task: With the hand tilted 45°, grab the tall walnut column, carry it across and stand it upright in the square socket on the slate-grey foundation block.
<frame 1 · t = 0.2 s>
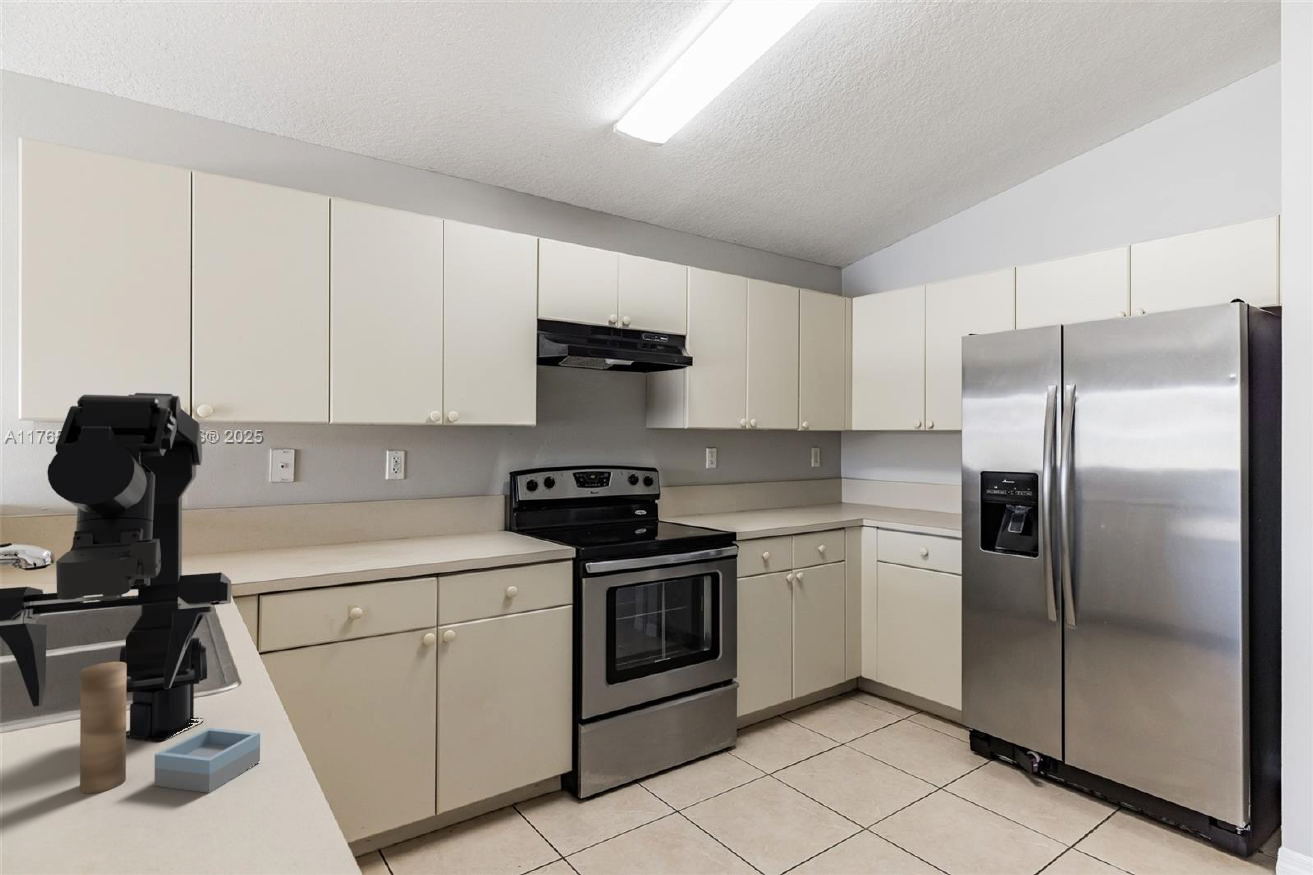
hand: (104, 697, 62), 16 cm above the worktop, tool pointing down, fingers open, 9 cm apart
foundation: (209, 773, 80), on the worktop
pillar: (103, 784, 77), on the worktop
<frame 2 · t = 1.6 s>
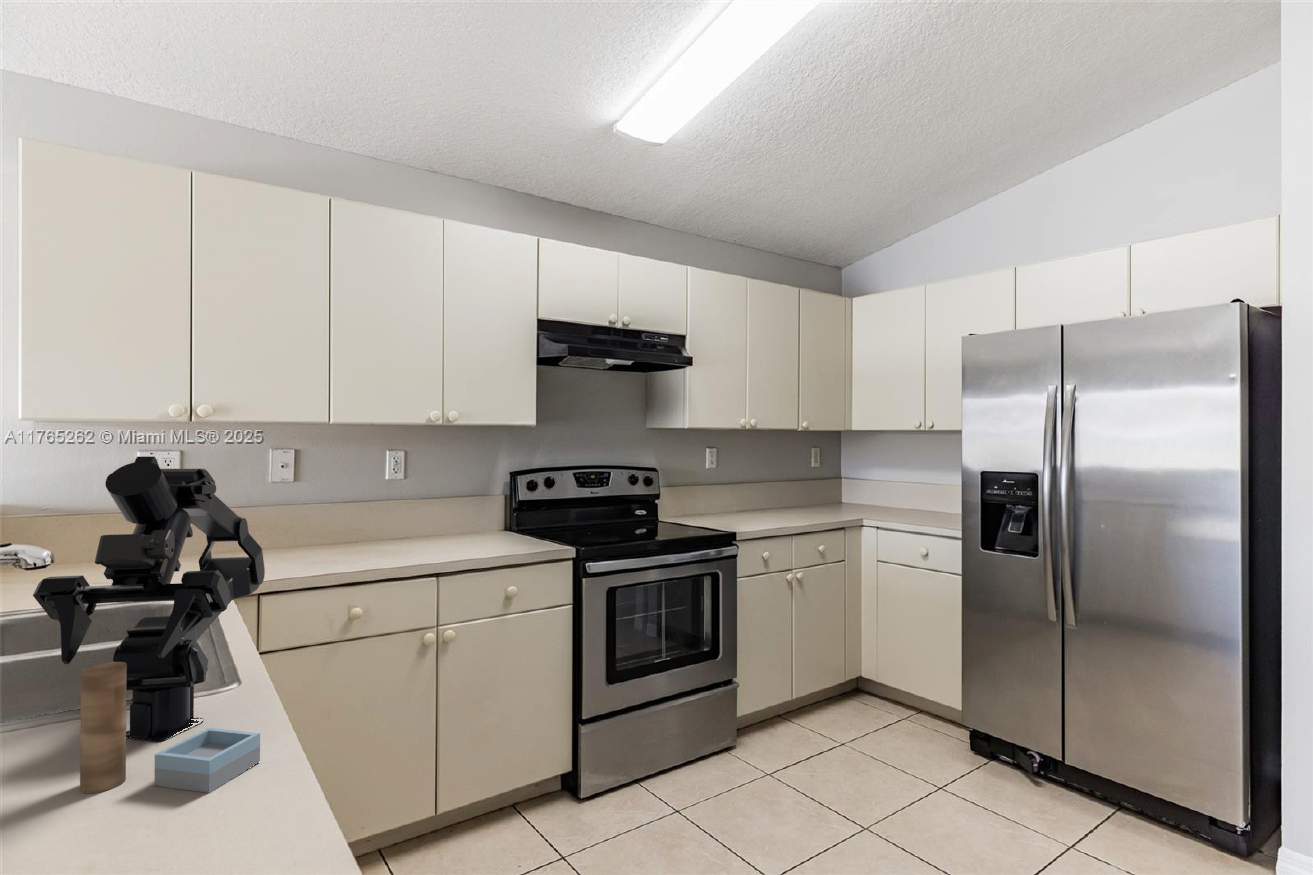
hand: (113, 659, 79), 13 cm above the worktop, tool tilted 45°, fingers open, 9 cm apart
nothing on the worktop moved.
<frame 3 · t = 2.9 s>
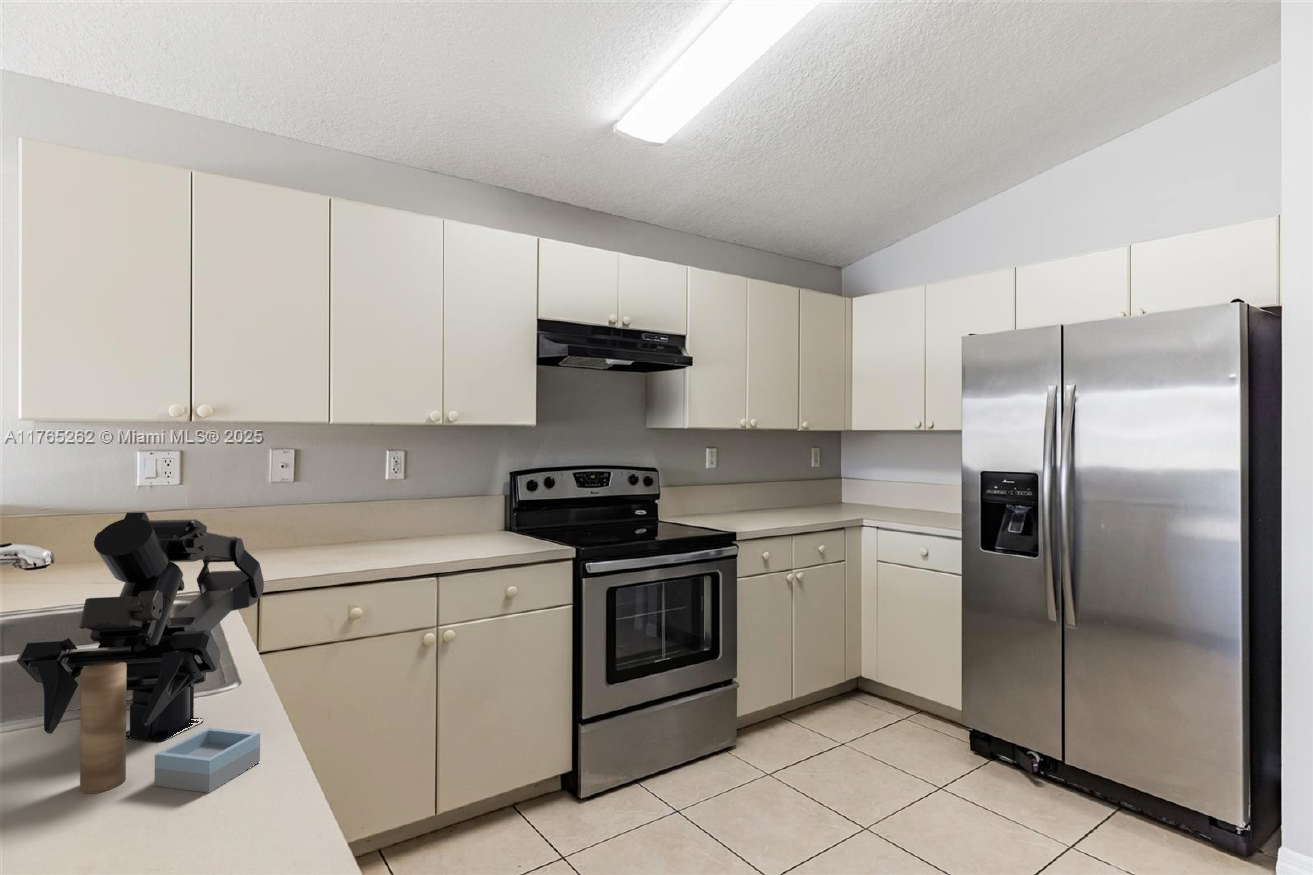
hand: (97, 728, 76), 7 cm above the worktop, tool tilted 45°, fingers open, 9 cm apart
nothing on the worktop moved.
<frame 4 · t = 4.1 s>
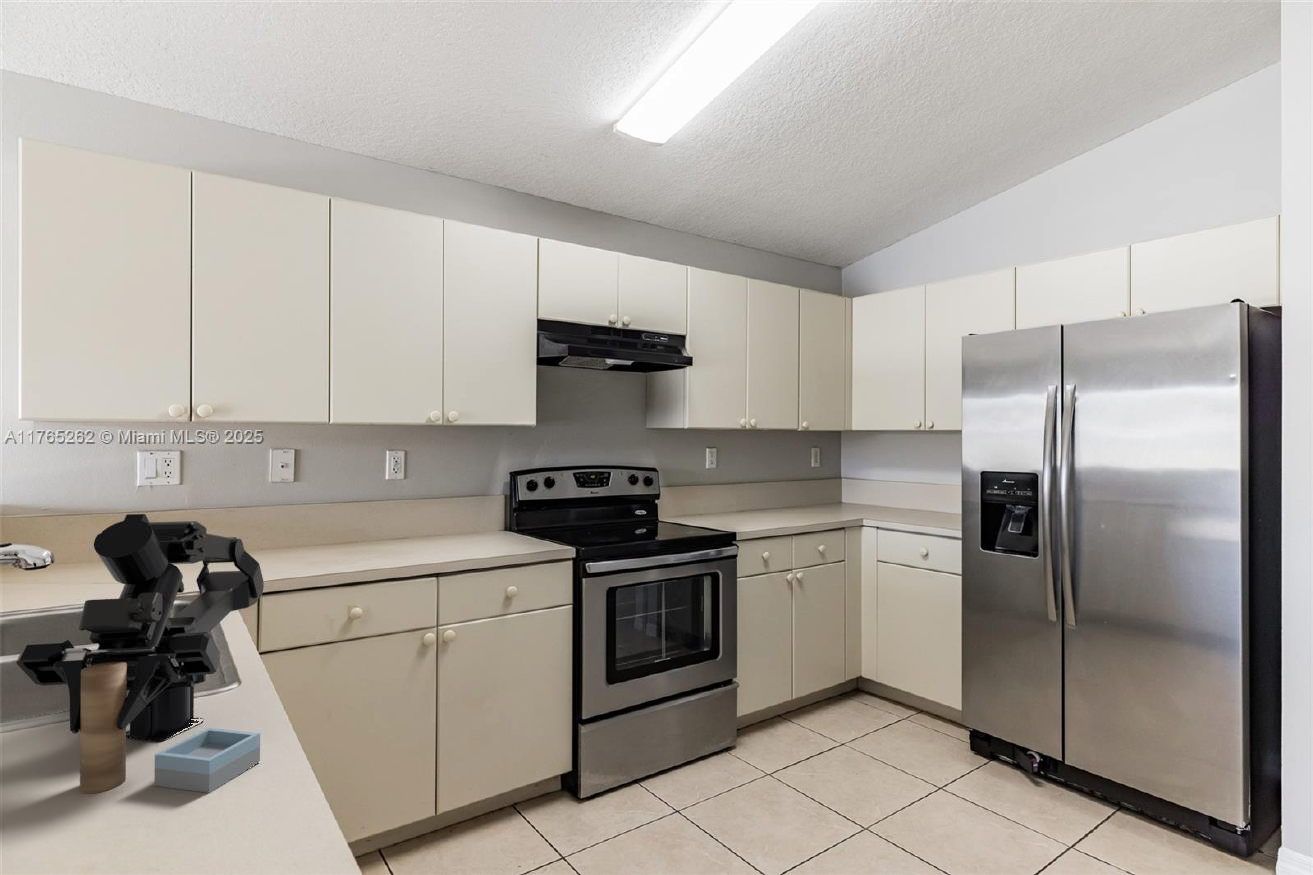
hand: (96, 730, 76), 7 cm above the worktop, tool tilted 45°, fingers closed on pillar, 4 cm apart
pillar: (103, 784, 77), on the worktop, touching gripper
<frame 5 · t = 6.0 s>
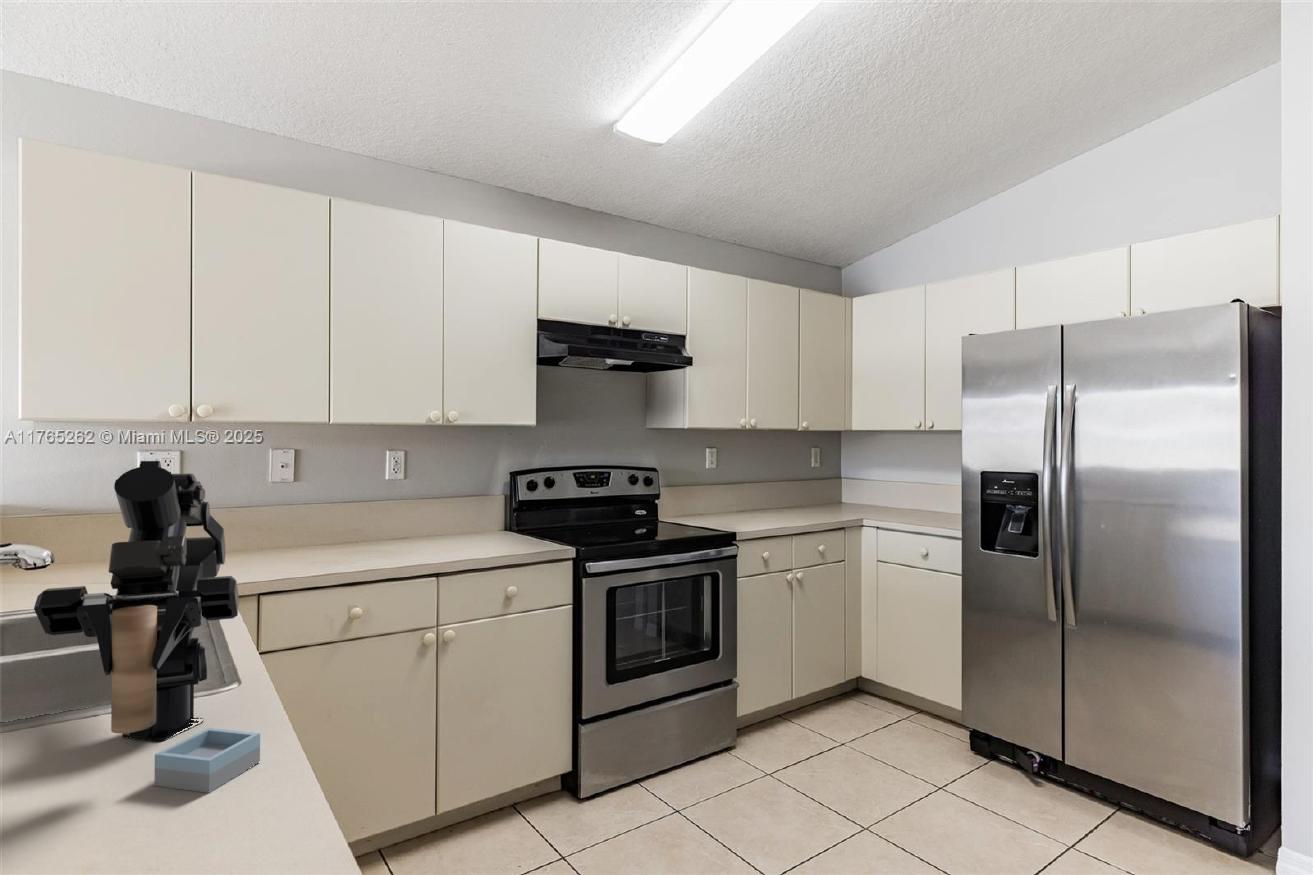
hand: (131, 670, 76), 13 cm above the worktop, tool tilted 45°, fingers closed on pillar, 4 cm apart
pillar: (134, 725, 77), point 7 cm above the worktop, touching gripper
when the fingers open (9 cm above the worktop, at t = 8.2 s): pillar stays where it is, resting on foundation.
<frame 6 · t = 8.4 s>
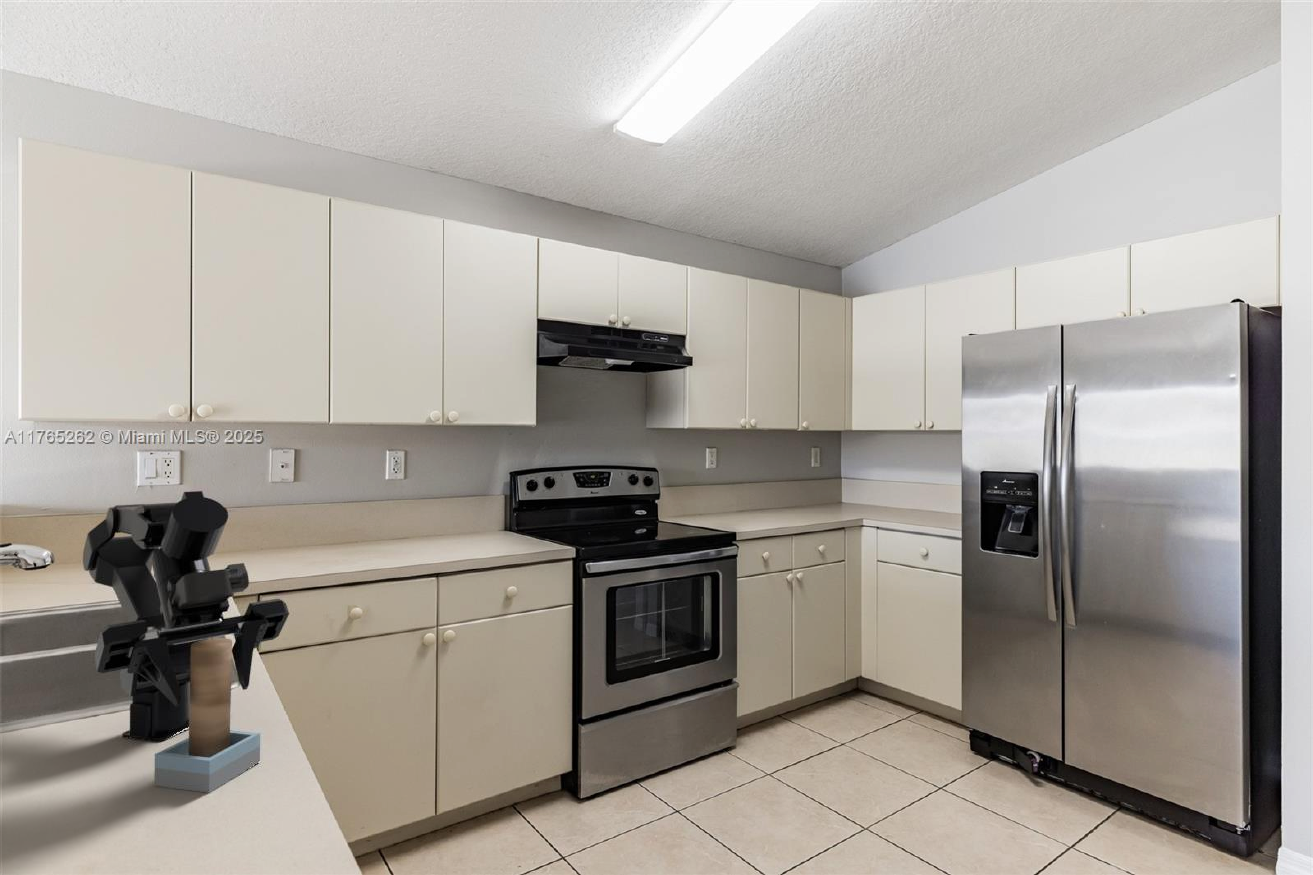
hand: (213, 695, 79), 9 cm above the worktop, tool tilted 45°, fingers open, 6 cm apart
pillar: (209, 755, 80), point 2 cm above the worktop, touching foundation
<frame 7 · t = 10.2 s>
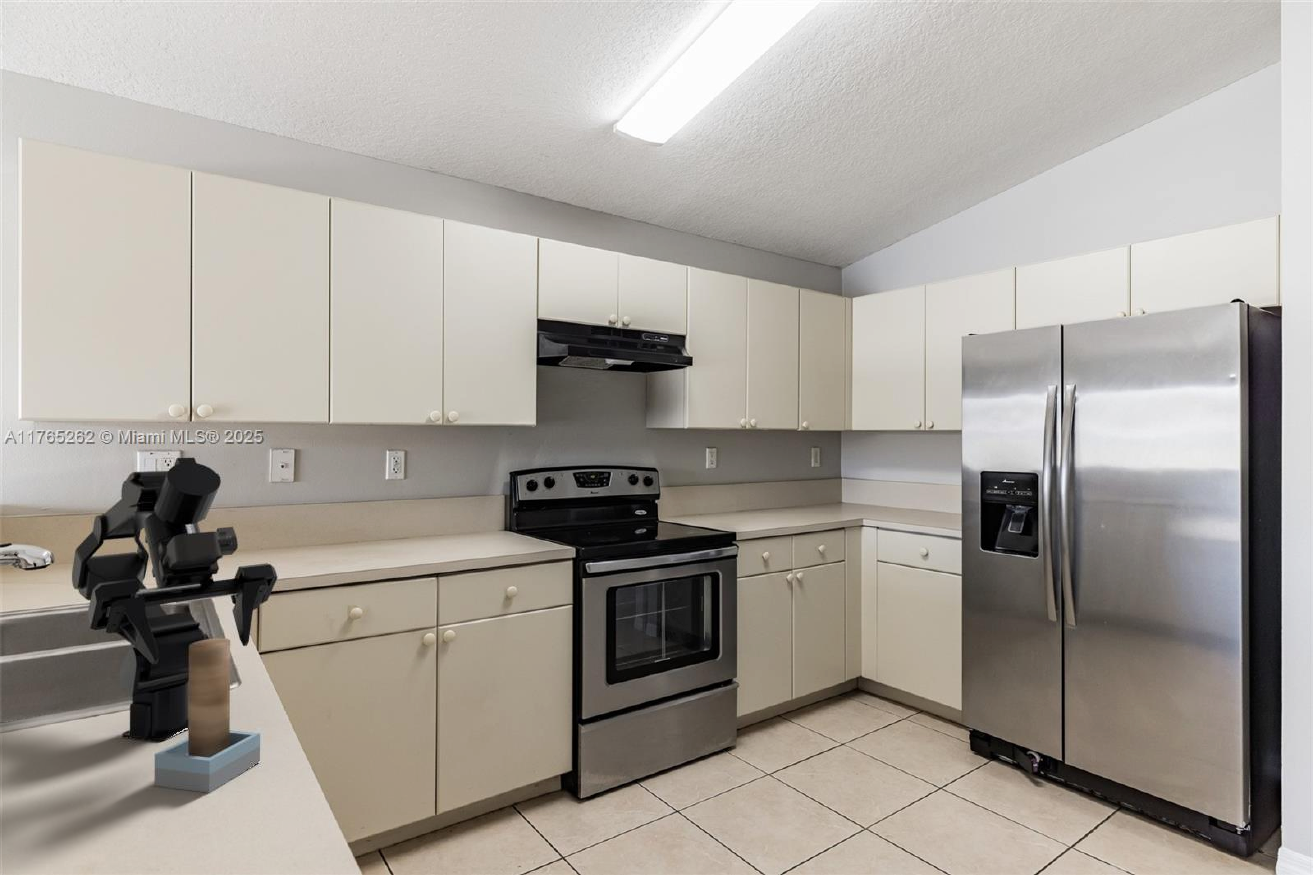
hand: (202, 652, 81), 13 cm above the worktop, tool tilted 45°, fingers open, 9 cm apart
nothing on the worktop moved.
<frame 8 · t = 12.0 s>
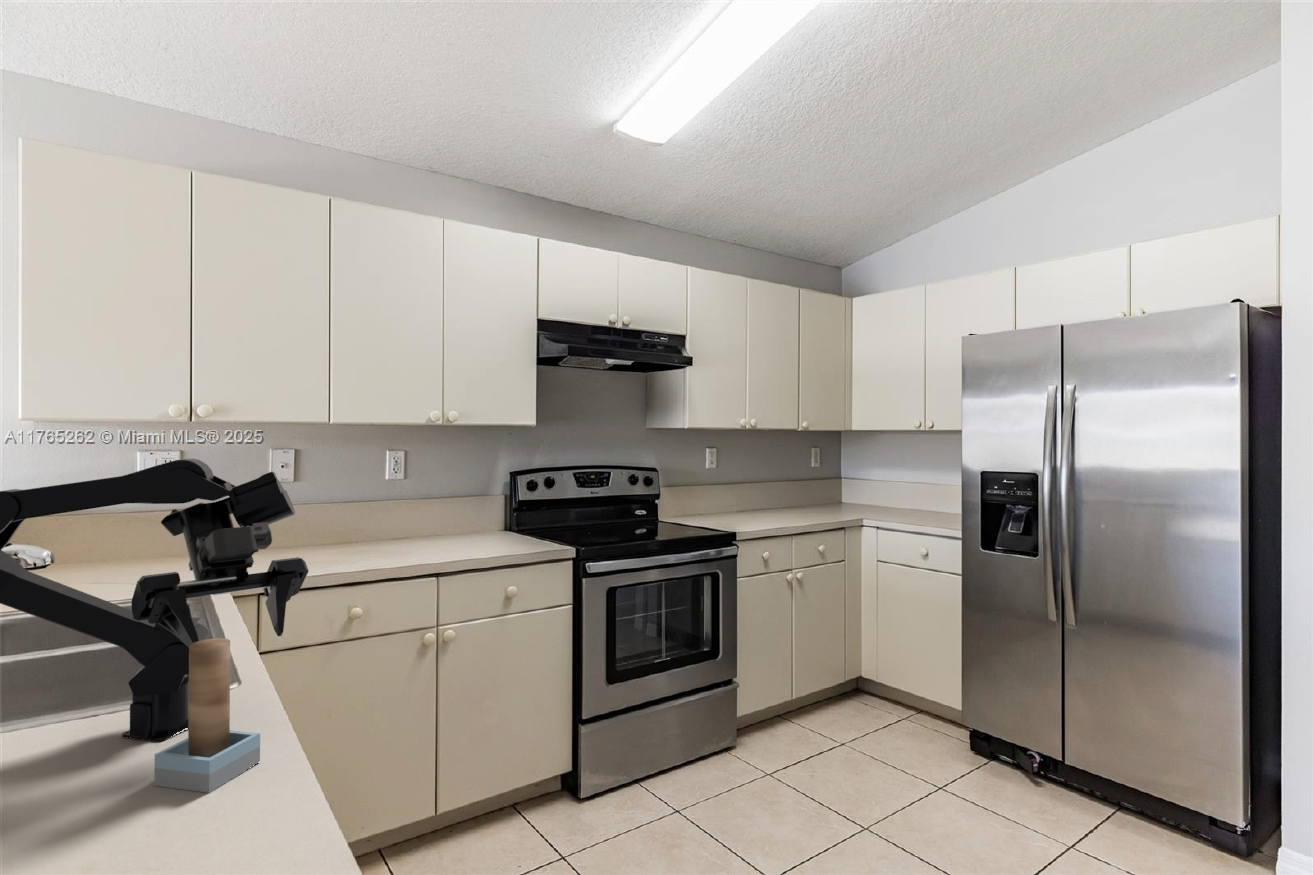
hand: (240, 642, 85), 14 cm above the worktop, tool tilted 45°, fingers open, 9 cm apart
nothing on the worktop moved.
at the end: pillar 0.0 cm off-centre on the foundation, point 2.0 cm above the foundation's base; pillar tilted 0°; the gripper is holding nothing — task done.
